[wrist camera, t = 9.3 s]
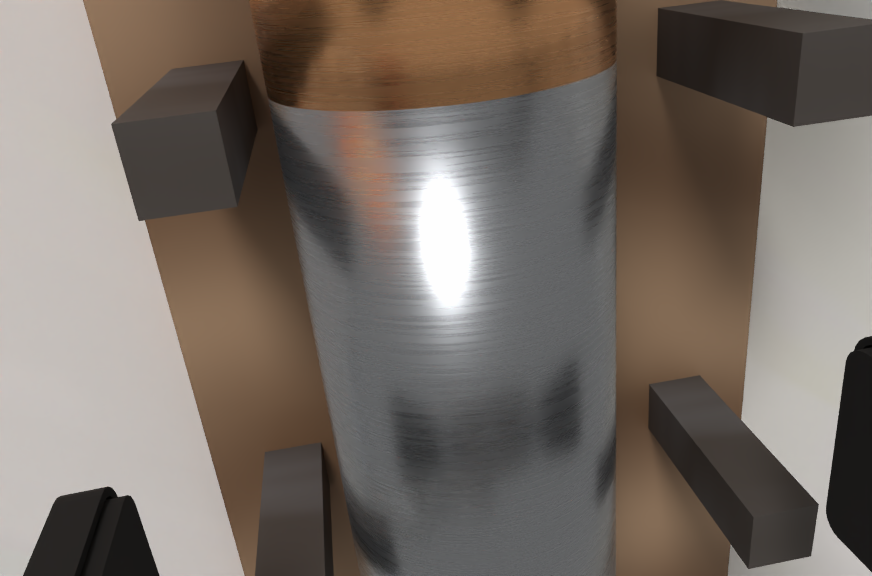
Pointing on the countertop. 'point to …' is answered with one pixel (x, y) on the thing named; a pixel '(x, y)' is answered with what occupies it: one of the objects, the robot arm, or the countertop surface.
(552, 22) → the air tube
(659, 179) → the board
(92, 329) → the countertop surface
